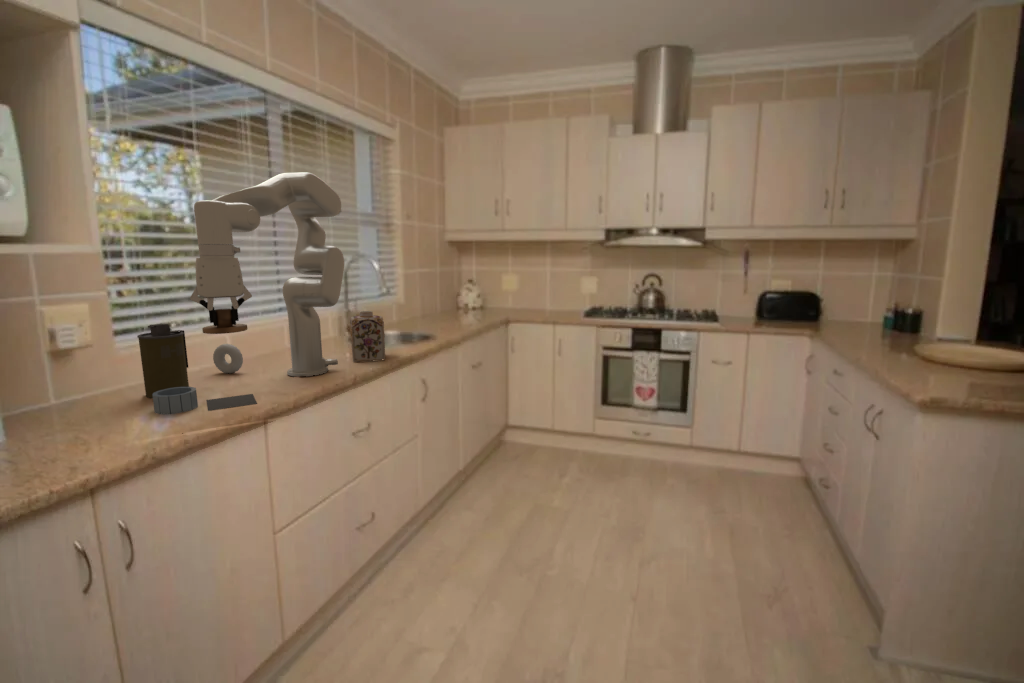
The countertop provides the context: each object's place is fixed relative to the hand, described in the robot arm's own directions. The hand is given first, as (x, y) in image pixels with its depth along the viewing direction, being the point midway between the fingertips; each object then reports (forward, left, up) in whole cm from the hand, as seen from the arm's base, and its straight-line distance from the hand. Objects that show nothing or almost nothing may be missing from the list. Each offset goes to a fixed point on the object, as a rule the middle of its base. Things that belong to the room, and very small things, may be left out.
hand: (224, 324), depth 127 cm
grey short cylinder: (+12, -1, -21) cm, 24 cm away
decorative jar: (-48, -38, -21) cm, 65 cm away
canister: (+14, -19, -21) cm, 32 cm away
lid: (0, 0, -2) cm, 2 cm away
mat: (0, 0, -21) cm, 21 cm away
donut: (-2, -39, -21) cm, 44 cm away
